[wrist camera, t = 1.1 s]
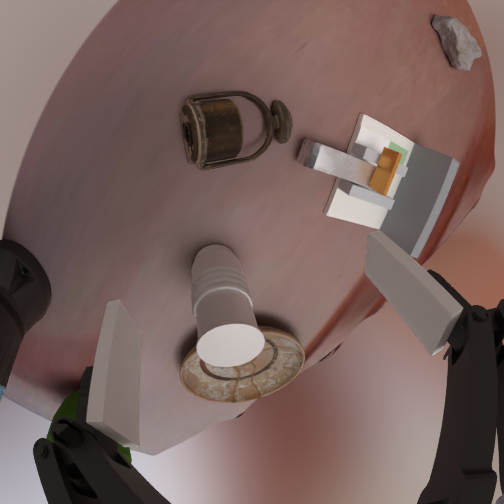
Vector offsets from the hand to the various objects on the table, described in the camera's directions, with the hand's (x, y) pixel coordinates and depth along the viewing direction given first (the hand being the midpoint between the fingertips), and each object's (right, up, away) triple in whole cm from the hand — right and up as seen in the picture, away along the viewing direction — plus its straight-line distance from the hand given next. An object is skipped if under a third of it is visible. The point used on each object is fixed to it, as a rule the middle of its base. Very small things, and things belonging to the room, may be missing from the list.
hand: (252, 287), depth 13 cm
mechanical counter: (-2, +16, +16) cm, 23 cm away
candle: (-5, 0, +25) cm, 25 cm away
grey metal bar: (+11, +14, +18) cm, 26 cm away
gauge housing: (+18, +13, +23) cm, 31 cm away
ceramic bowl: (-2, -18, +37) cm, 41 cm away
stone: (+32, +37, +12) cm, 50 cm away
